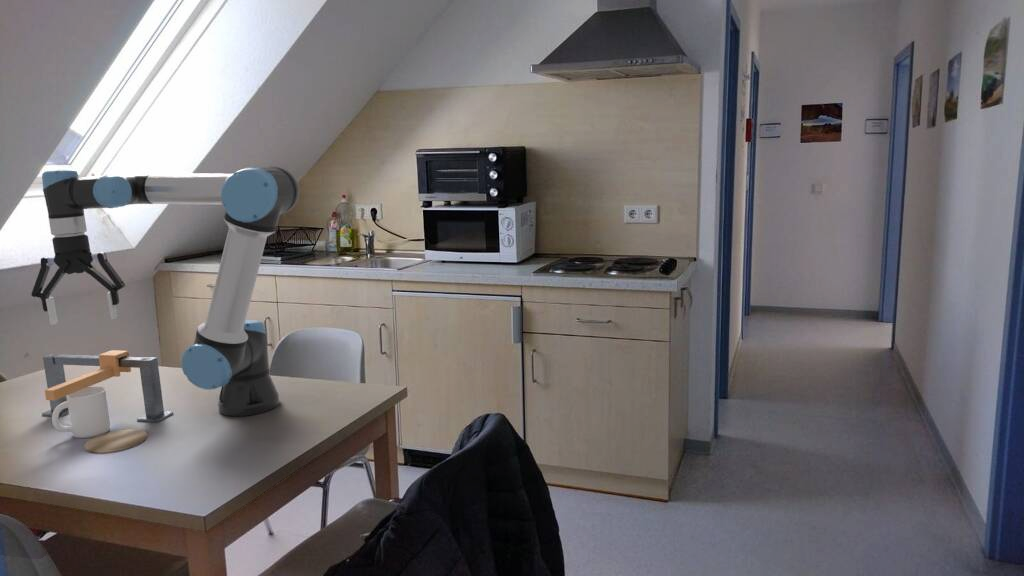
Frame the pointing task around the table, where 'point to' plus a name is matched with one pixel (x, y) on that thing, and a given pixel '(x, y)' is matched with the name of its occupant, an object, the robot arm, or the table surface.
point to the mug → (85, 413)
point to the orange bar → (91, 375)
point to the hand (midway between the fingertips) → (84, 321)
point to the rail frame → (146, 365)
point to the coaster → (115, 441)
